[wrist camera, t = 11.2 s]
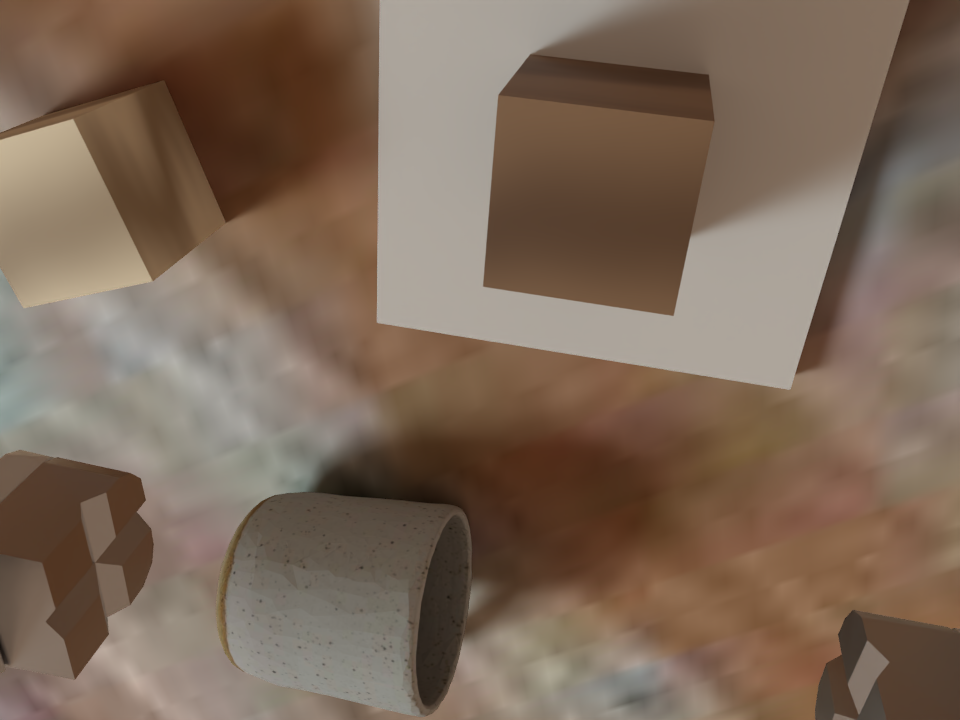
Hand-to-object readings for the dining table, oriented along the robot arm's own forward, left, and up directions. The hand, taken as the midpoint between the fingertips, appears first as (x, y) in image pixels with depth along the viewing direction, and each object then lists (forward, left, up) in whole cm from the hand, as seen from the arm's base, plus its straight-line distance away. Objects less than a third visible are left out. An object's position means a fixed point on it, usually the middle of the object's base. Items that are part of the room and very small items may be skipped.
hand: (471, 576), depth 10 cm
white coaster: (0, 0, -19) cm, 19 cm away
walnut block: (0, 0, -18) cm, 18 cm away
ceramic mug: (+19, -6, -19) cm, 28 cm away
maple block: (+3, -16, -19) cm, 25 cm away
